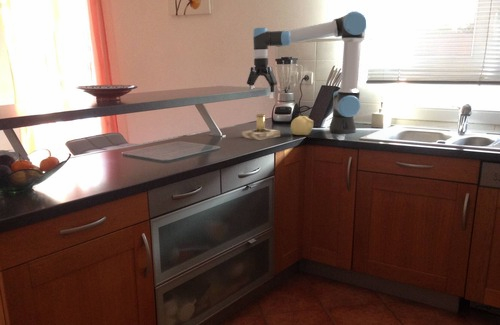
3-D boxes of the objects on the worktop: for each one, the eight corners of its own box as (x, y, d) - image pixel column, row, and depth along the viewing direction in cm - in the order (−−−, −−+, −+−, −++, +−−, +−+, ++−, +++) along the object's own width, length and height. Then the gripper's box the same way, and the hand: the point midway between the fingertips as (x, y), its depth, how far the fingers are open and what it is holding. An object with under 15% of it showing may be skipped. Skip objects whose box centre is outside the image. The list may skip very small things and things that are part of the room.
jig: (280, 136, 244) (280, 130, 243) (259, 140, 233) (259, 133, 233) (262, 133, 254) (262, 127, 253) (241, 136, 243) (241, 131, 242)
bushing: (267, 136, 244) (267, 114, 241) (260, 137, 240) (260, 115, 238) (260, 135, 247) (260, 114, 244) (254, 136, 244) (254, 114, 241)
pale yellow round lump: (316, 135, 245) (316, 116, 242) (297, 137, 240) (298, 117, 237) (305, 132, 255) (305, 113, 252) (287, 134, 250) (287, 115, 247)
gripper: (283, 57, 231) (283, 98, 236) (249, 58, 248) (250, 96, 253) (273, 57, 226) (274, 99, 230) (239, 58, 243) (241, 97, 248)
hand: (261, 97), depth 242 cm, fingers open, 13 cm apart
